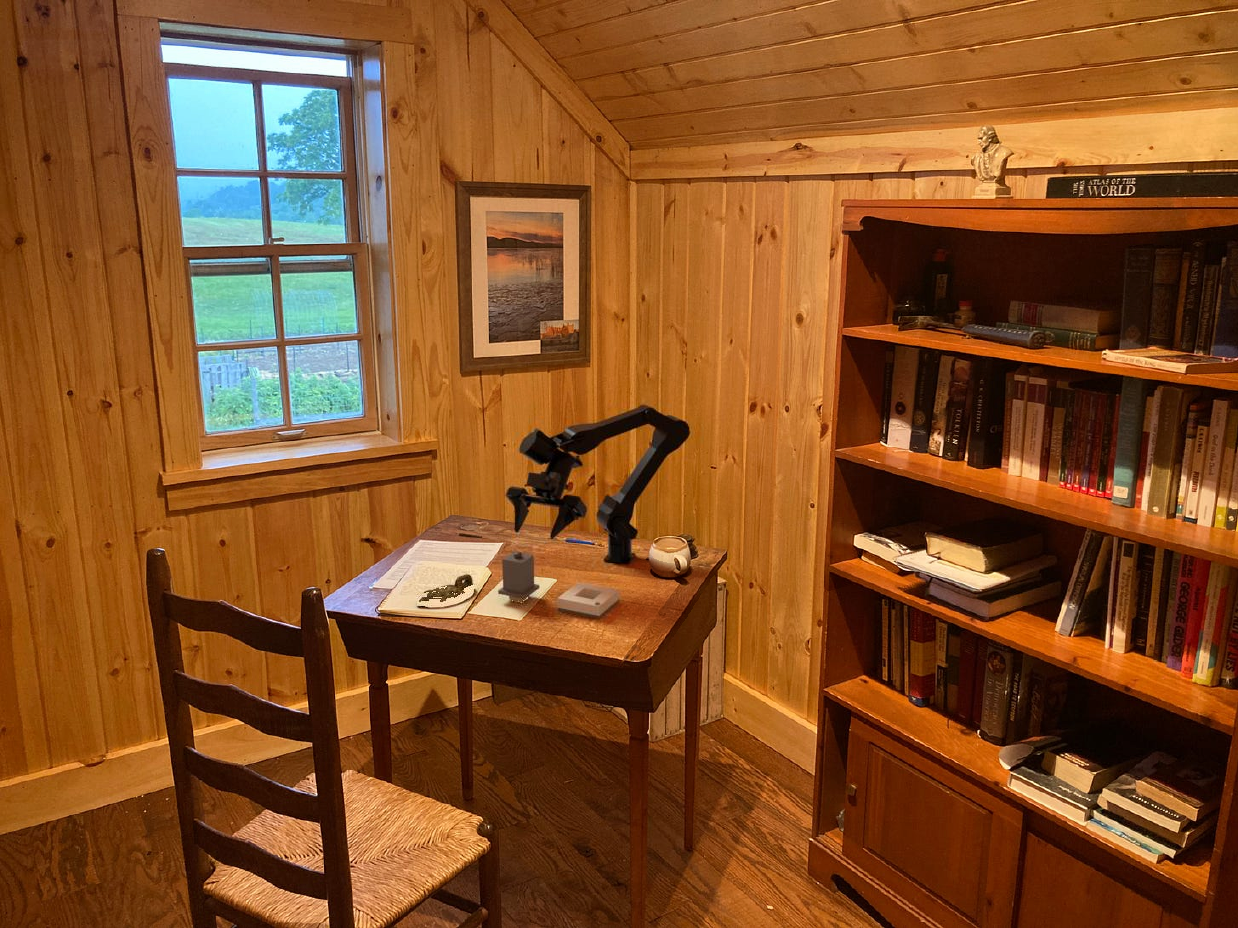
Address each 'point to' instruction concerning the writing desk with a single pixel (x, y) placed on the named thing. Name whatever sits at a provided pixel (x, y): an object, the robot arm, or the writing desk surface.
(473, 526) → the writing desk surface
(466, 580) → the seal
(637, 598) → the writing desk surface
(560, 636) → the writing desk surface
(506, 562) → the grey block with knob
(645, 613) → the writing desk surface
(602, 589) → the socket
